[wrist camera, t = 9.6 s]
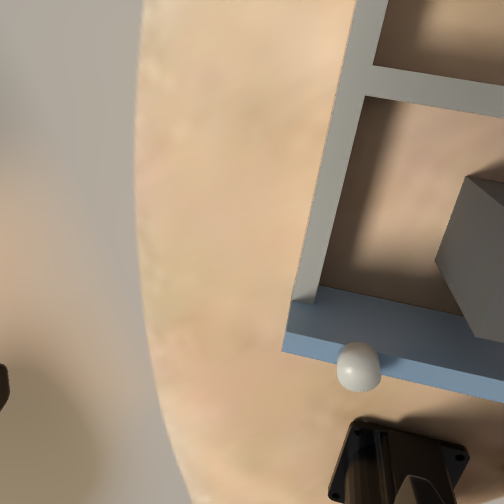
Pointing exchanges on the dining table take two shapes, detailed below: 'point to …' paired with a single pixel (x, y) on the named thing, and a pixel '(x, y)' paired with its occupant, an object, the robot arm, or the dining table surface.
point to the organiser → (372, 308)
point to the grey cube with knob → (477, 256)
